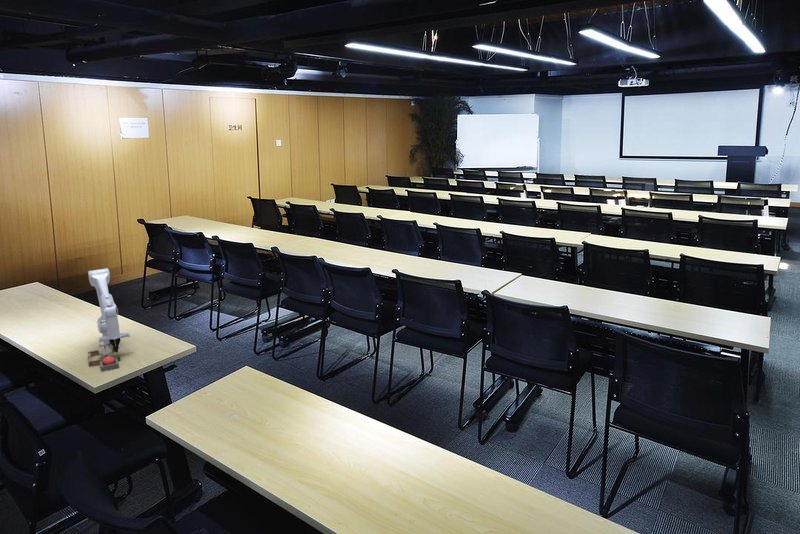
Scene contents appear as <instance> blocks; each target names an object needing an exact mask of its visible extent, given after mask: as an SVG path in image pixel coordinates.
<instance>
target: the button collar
mask: <svg viewBox="0 0 800 534" xmlns="http://www.w3.org/2000/svg"><path fill="white" fill-rule="evenodd" d="M114 361H115V363H114V364H110V365H105V366H104V363H103V361H100V365H99V367H100V370H101V371H102V372H107V371H111V369H112V370H115V369H119V368H120V365H119V361H118V360H117V358H114ZM106 370H107V371H106ZM101 371H100V372H101Z"/></svg>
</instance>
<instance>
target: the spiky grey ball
mask: <svg viewBox="0 0 800 534" xmlns="http://www.w3.org/2000/svg"><path fill="white" fill-rule="evenodd" d="M98 345H99V348H98V350H99V351H98V352H97V353H98V354H99V355H98V356H100V359H104V358H106V357H108V356H110V357H113V353H114V352H113V350H114V349H113V348H112V347H111V345H110V343H109V344H106V345H103V344H98Z"/></svg>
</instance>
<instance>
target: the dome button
mask: <svg viewBox="0 0 800 534" xmlns="http://www.w3.org/2000/svg"><path fill="white" fill-rule="evenodd" d="M103 363H104V366H105V365H110V364H114V363H115V361H114V356H112V357H110V356H108V357H106V358H104V359H103Z"/></svg>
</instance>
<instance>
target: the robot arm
mask: <svg viewBox="0 0 800 534" xmlns="http://www.w3.org/2000/svg"><path fill="white" fill-rule="evenodd" d="M87 274H88V281H89V284H90V285H91V287H94V288H95V290H96V295H97V299H98V303H99V309H100V313H101V316H99V318H98V319H97V320H96V323H97V329H98V332H99V333H100V334H102V337H98V341H99V343H102V342H103V344H102V345H106V344H109V343H110V345H111V347H113V348H114V350H115V352H114V353H119V348H121V344H120V342H121V339H123V338H130V332H121V333H120V324H119V319H118V315H119V309H118V307H117V305H116V303H115V301H114V298H113V295H112V294H111V293H109V286H108V284H110V281H111V279H110V278H111V272H110V269H109V268H108V267H105V268H100V269H94V270H93V269H92V270H88V271H87Z"/></svg>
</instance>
